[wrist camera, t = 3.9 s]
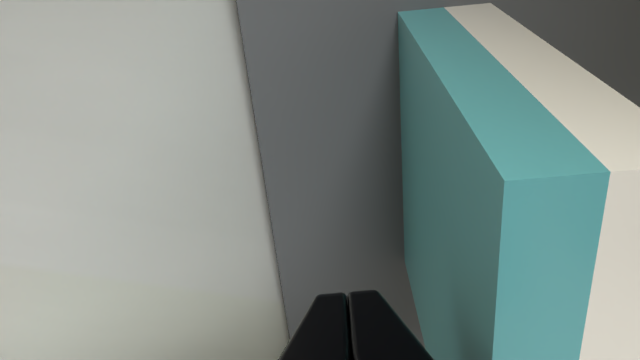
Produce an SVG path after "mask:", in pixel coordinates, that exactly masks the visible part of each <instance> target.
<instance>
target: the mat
mask: <svg viewBox="0 0 640 360" xmlns="http://www.w3.org/2000/svg"><path fill="white" fill-rule="evenodd" d="M236 2H237V9H238V15H239V21H240V28H241V34H242V40H243V47H244V53H245V59H246V65H247V72H248V78H249V84H250V91H251V97H252V103H253V110H254V116H255V122H256V129H257V135H258V141H259V148H260V154H261V160H262V167H263V173H264V179H265V186H266V192H267V198H268V205H269V211H270V217H271V224H272V230H273V236H274V242H275V249H276V255H277V261H278V268H279V274H280V280H281V287H282V293H283V299H284V306H285V312H286V318H287V325H288V331H289V337H290V339H291V337H292V335H293V334H294V332H295V330H296V328H297V327H298V325H299V323H300V322H301V320H302V318H303V317H304V315H305V313H306V311H307V310H308V308H309V306H310V305H311V303H312V301H313V299H314V298H315V297H316V296H317V295H319V294H328V293H340V292H342V293H344V294H345V295H346V296H348V294H349V293H350V292H352V291H363V290H377V291H378V292H379V293H380V294H381V295H382V296H383V297H384V299H385V300H386V301H387V302H388V304H389V305H390V306H391V307H392V309H393V310H394V311H395V312H396V313H397V315H398V316H399V317H400V318H401V320H402V321H403V322H404V323H405V325H406V326H407V327H408V328H409V329H410V331H411V332H412V333H413V334H414V336H415V337H416V338H417V339H418V341H419V342H420V343H421V344H422V346H423V347H424V348H425V345H424V340H423V336H422V332H421V328H420V324H419V319H418V315H417V311H416V307H415V303H414V298H413V294H412V290H411V286H410V281H409V277H408V273H407V269H406V265H405V257H404V221H403V185H402V149H401V113H400V78H399V42H398V12H401V11H412V10H422V9H432V8H442V7H453V6H463V5H473V4H484V3H491V4H493V5H494V6H496V7H497V8H498V9H500V10H501V11H503V12H504V13H506V14H507V15H508V16H510V17H511V18H513V19H514V20H516V21H517V22H518V23H520V24H521V25H523V26H524V27H526V28H527V29H528V30H530V31H531V32H533V33H534V34H536V35H537V36H538V37H540V38H541V39H543V40H544V41H546V42H547V43H548V44H550V45H551V46H553V47H554V48H555V49H557V50H558V51H560V52H561V53H563V54H564V55H565V56H567V57H568V58H570V59H571V60H573V61H574V62H575V63H577V64H578V65H580V66H581V67H583V68H584V69H585V70H587V71H588V72H590V73H591V74H593V75H594V76H595V77H597V78H598V79H600V80H601V81H603V82H604V83H605V84H607V85H608V86H610V87H611V88H613V89H614V90H615V91H617V92H618V93H620V94H621V95H622V96H624V97H625V98H627V99H628V100H630V101H631V102H632V103H634V104H635V105H637V106H638V107H640V0H236ZM347 302H348V301H347Z"/></svg>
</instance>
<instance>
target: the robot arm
mask: <svg viewBox="0 0 640 360" xmlns="http://www.w3.org/2000/svg"><path fill="white" fill-rule="evenodd" d="M347 301H348V302H347ZM278 360H434V359H433V358H432V357H431V355H430V354H429V353H428V352H427V350H426V349H425V348H424V347H423V346H422V344H421V343H420V342H419V341H418V339H417V338H416V337H415V336H414V334H413V333H412V332H411V331H410V329H409V328H408V327H407V326H406V325H405V323H404V322H403V321H402V320H401V318H400V317H399V316H398V315H397V313H396V312H395V311H394V310H393V309H392V307H391V306H390V305H389V304H388V302H387V301H386V300H385V299H384V297H383V296H382V295H381V294H380V293H379V292H378V291H377V290H363V291H352V292H350V293H349V294H348V296H346V295H345V294H344V293H342V292H340V293H328V294H319V295H317V296H316V297H315V298H314V299H313V301H312V303H311V305H310V306H309V308H308V310H307V311H306V313H305V315H304V317H303V318H302V320H301V322H300V323H299V325H298V327H297V328H296V330H295V332H294V334H293V335H292V337H291V339H290V340H289V342H288V344H287V346H286V347H285V349H284V351H283V352H282V354H281V356H280V358H279V359H278Z"/></svg>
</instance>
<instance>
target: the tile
mask: <svg viewBox="0 0 640 360" xmlns="http://www.w3.org/2000/svg"><path fill="white" fill-rule="evenodd" d="M398 42H399V78H400V113H401V149H402V185H403V221H404V257H405V265H406V269H407V273H408V277H409V281H410V286H411V290H412V294H413V298H414V303H415V307H416V311H417V315H418V319H419V324H420V328H421V332H422V336H423V340H424V345H425V349H426V350H427V352H428V353H429V354H430V355H431V357H432V358H433V359H434V360H640V107H638V106H637V105H635V104H634V103H632V102H631V101H630V100H628V99H627V98H625V97H624V96H622V95H621V94H620V93H618V92H617V91H615V90H614V89H613V88H611V87H610V86H608V85H607V84H605V83H604V82H603V81H601V80H600V79H598V78H597V77H595V76H594V75H593V74H591V73H590V72H588V71H587V70H585V69H584V68H583V67H581V66H580V65H578V64H577V63H575V62H574V61H573V60H571V59H570V58H568V57H567V56H565V55H564V54H563V53H561V52H560V51H558V50H557V49H555V48H554V47H553V46H551V45H550V44H548V43H547V42H546V41H544V40H543V39H541V38H540V37H538V36H537V35H536V34H534V33H533V32H531V31H530V30H528V29H527V28H526V27H524V26H523V25H521V24H520V23H518V22H517V21H516V20H514V19H513V18H511V17H510V16H508V15H507V14H506V13H504V12H503V11H501V10H500V9H498V8H497V7H496V6H494V5H493V4H491V3H484V4H473V5H463V6H453V7H442V8H432V9H422V10H412V11H401V12H398Z"/></svg>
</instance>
